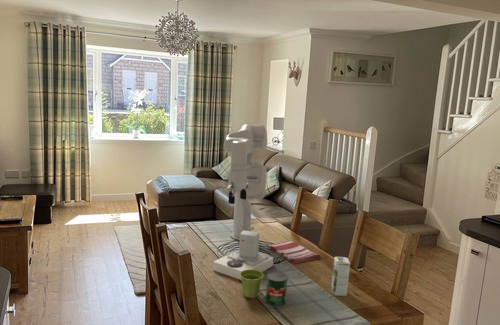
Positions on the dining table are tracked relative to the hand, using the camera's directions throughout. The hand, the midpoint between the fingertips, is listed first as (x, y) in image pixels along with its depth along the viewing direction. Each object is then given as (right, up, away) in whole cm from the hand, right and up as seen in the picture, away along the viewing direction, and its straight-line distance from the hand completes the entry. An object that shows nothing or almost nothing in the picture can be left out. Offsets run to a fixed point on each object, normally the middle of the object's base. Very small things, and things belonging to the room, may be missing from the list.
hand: (237, 201), depth 201 cm
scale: (+3, -30, -10) cm, 31 cm away
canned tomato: (+16, -36, -40) cm, 56 cm away
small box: (+5, -24, -8) cm, 26 cm away
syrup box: (+43, -35, -29) cm, 63 cm away
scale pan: (+5, -25, -8) cm, 27 cm away
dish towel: (+28, -28, +11) cm, 41 cm away
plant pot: (+6, -34, -35) cm, 49 cm away
